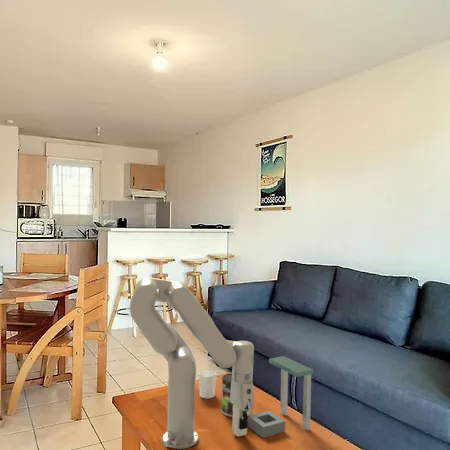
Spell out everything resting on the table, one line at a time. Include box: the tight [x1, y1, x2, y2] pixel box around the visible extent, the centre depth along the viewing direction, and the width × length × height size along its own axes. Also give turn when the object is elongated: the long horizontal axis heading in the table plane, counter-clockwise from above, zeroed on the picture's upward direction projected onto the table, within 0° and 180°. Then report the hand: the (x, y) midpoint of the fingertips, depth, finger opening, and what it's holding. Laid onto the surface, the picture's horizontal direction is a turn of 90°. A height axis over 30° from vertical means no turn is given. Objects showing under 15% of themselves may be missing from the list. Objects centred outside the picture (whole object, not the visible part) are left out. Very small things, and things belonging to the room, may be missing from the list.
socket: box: [247, 410, 286, 439], centre depth 163 cm, size 10×10×4 cm
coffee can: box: [221, 372, 233, 418], centre depth 177 cm, size 10×10×14 cm
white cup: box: [198, 369, 217, 399], centre depth 193 cm, size 8×8×10 cm
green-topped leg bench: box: [268, 355, 314, 431], centre depth 168 cm, size 8×18×23 cm, turn 30°
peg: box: [231, 404, 248, 438], centre depth 157 cm, size 4×4×10 cm
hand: (239, 425), depth 157 cm, fingers closed on peg, 4 cm apart
